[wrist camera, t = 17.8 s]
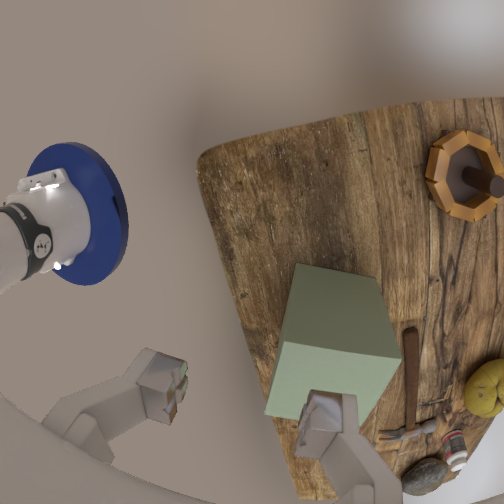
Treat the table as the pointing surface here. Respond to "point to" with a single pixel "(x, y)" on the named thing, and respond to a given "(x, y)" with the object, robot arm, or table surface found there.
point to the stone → (424, 477)
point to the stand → (470, 176)
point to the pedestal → (332, 342)
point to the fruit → (486, 389)
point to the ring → (439, 169)
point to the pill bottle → (455, 450)
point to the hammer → (410, 392)
